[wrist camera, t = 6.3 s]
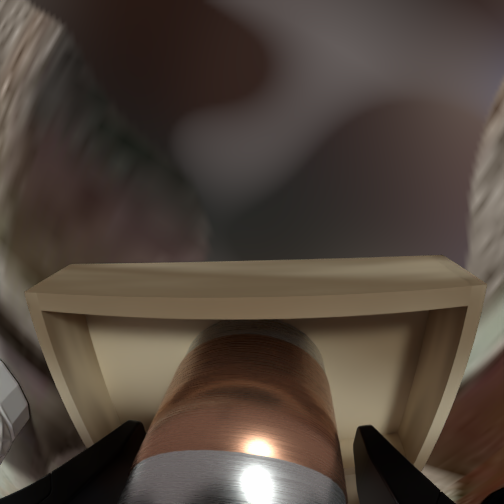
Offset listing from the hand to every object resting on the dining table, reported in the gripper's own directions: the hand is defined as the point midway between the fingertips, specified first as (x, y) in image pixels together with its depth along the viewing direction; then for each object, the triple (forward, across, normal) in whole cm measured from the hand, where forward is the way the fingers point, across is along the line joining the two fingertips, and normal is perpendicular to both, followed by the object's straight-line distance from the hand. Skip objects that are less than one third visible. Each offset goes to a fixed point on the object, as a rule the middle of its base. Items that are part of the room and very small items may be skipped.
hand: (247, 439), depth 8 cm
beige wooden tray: (+4, 0, +4) cm, 6 cm away
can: (+3, 0, 0) cm, 3 cm away
